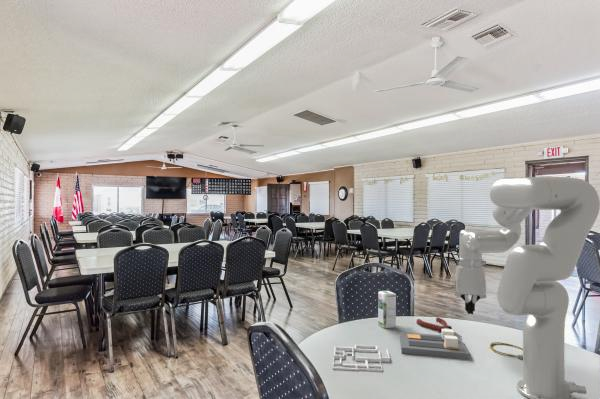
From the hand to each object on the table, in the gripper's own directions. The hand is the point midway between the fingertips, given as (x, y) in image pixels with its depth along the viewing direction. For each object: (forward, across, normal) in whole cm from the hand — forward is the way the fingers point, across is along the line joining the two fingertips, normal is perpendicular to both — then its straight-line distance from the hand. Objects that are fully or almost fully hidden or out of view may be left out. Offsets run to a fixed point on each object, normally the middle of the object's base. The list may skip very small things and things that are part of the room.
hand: (469, 312), depth 132 cm
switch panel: (+12, +14, +4) cm, 19 cm away
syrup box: (+13, +30, -16) cm, 36 cm away
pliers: (+14, +9, -16) cm, 23 cm away
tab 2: (+10, +8, +8) cm, 15 cm away
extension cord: (+13, -14, +2) cm, 19 cm away
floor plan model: (+13, +38, +17) cm, 44 cm away
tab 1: (+10, +8, +1) cm, 13 cm away
